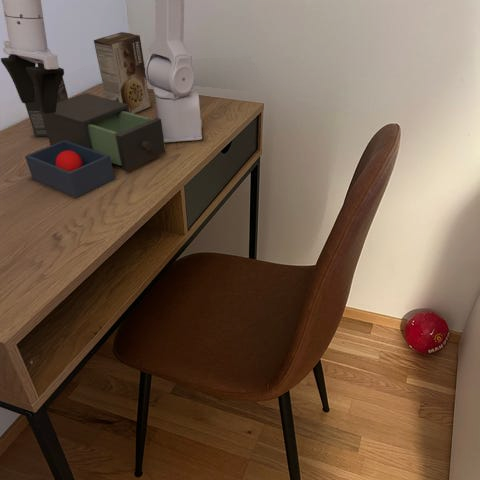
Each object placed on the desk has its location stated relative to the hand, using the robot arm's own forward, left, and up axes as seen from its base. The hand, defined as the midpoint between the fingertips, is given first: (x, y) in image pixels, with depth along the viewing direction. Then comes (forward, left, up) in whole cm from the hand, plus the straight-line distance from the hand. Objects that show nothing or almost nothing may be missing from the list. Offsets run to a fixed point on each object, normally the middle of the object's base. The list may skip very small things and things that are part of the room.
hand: (38, 107), depth 83 cm
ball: (-3, +2, -10) cm, 10 cm away
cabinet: (-6, -13, -13) cm, 19 cm away
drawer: (-13, -5, -12) cm, 19 cm away
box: (-3, +2, -13) cm, 13 cm away
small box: (+4, -26, -13) cm, 29 cm away
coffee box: (-13, -35, -13) cm, 39 cm away
